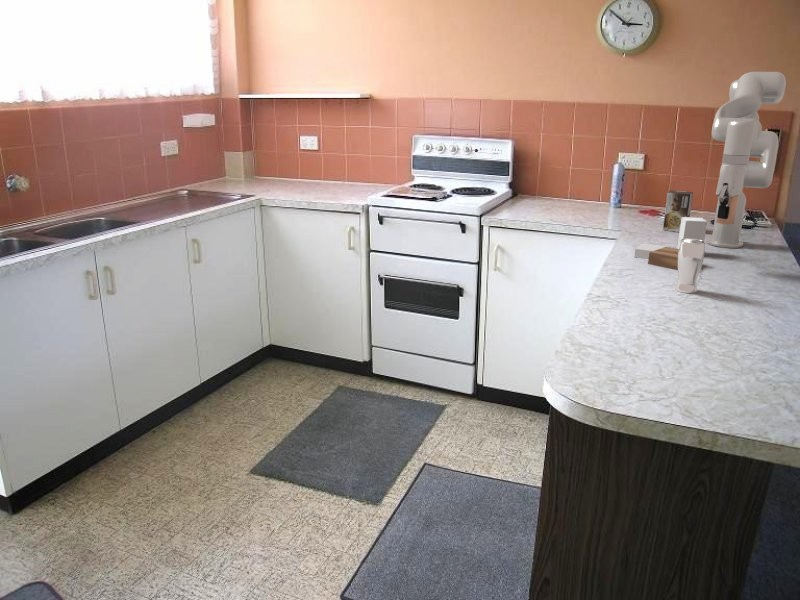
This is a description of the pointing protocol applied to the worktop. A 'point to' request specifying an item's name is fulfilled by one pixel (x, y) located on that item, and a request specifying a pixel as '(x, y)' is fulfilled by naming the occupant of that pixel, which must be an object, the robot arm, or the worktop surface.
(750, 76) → the robot arm
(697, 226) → the supplement box
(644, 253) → the white plinth
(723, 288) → the worktop surface
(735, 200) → the glossy peach capsule
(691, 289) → the beer glass
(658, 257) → the walnut plinth
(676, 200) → the coffee box
